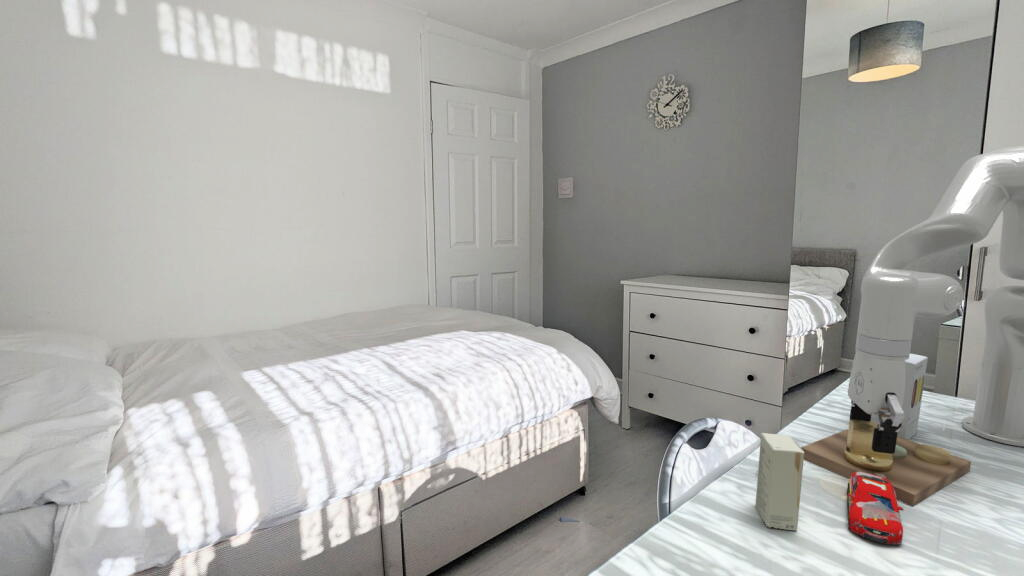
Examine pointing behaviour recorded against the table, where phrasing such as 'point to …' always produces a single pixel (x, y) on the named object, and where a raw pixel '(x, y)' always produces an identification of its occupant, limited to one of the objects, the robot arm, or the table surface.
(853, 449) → the wing knob
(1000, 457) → the table surface
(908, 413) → the supplement box
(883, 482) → the race car
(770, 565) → the table surface
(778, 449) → the skincare box
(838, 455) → the brown flat rectangular board
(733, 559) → the table surface
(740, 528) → the table surface
